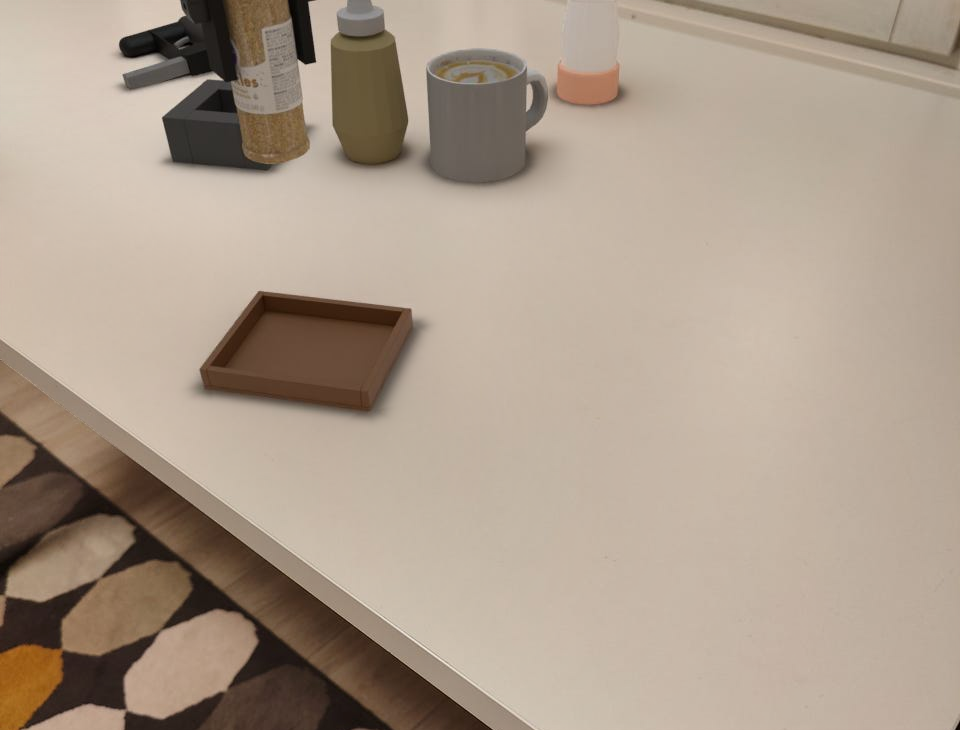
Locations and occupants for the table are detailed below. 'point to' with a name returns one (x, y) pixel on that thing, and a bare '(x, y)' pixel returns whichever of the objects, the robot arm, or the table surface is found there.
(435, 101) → the coffee mug
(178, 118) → the socket base
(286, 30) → the sprinkles bottle
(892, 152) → the table surface
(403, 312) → the tray
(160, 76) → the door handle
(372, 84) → the squeeze bottle
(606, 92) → the pepper shaker
